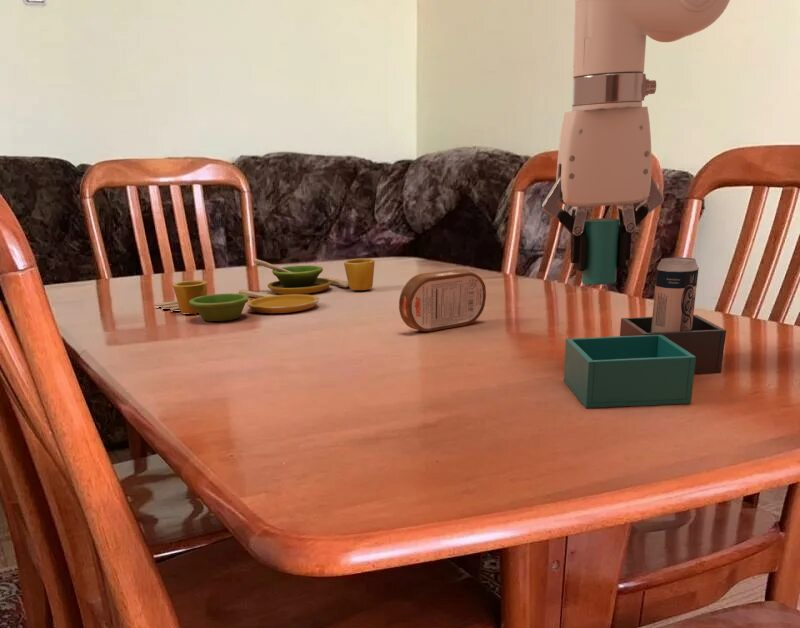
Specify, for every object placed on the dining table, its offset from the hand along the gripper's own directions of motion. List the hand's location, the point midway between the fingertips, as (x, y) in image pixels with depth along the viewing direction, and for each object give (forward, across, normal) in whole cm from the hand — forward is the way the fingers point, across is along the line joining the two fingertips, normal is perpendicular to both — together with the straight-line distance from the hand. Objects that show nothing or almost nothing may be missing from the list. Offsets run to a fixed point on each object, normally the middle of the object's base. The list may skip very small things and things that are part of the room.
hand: (599, 266), depth 98 cm
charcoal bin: (+12, -9, +1) cm, 15 cm away
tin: (+12, +17, -27) cm, 34 cm away
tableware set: (+11, +46, -58) cm, 75 cm away
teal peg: (+2, 0, 0) cm, 2 cm away
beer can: (+12, -9, +1) cm, 15 cm away
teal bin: (+12, 0, +12) cm, 17 cm away
